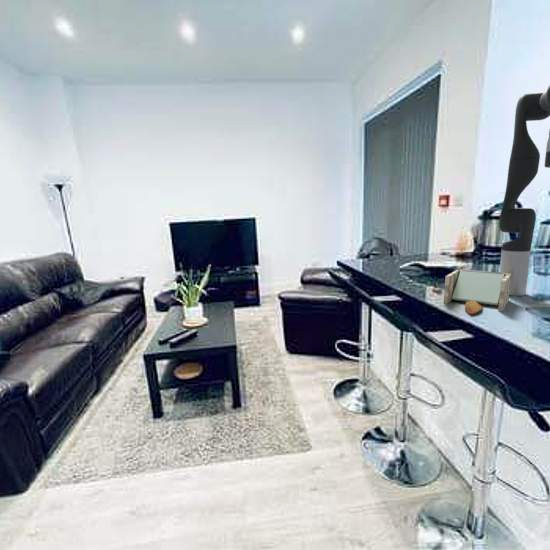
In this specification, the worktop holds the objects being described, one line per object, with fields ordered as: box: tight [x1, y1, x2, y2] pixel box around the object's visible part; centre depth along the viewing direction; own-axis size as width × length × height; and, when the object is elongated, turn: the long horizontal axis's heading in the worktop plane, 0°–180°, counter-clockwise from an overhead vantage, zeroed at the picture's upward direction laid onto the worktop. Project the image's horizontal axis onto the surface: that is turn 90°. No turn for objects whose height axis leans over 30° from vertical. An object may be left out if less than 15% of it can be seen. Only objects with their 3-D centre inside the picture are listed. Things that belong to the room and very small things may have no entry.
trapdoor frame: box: [443, 269, 511, 312], centre depth 121 cm, size 17×18×10 cm
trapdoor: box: [452, 269, 504, 306], centre depth 122 cm, size 15×14×1 cm
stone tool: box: [464, 300, 484, 315], centre depth 111 cm, size 5×2×15 cm
